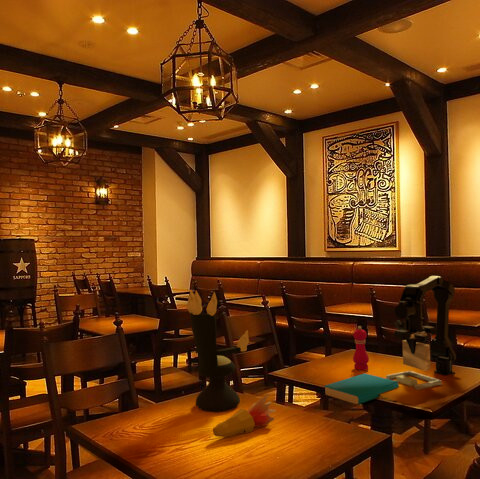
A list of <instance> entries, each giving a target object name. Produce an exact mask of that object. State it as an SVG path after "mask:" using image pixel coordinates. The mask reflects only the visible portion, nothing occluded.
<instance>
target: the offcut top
mask: <svg viewBox="0 0 480 479" xmlns="http://www.w3.org/2000/svg"><path fill="white" fill-rule="evenodd" d="M395 380H396V381H398V383H399V382H401V383H400V384H402V383H404V384H403V385H405V384H407V385H406V386H408V385H410V386H413V385H417V384H418V379H416V378H414V377H411V376H404V375H400V376H396V378H395ZM410 386H409V387H410Z"/></svg>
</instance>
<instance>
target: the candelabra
mask: <svg viewBox="0 0 480 479" xmlns="http://www.w3.org/2000/svg"><path fill="white" fill-rule="evenodd" d="M217 306H218V299H217V296H216V292H215V291H213V294H212V296H211V298H210V301H209V302H208V304H207V306H206V313H202V311H203V306H202V298H201V296H200V294H199V293H198V291H197V290H195V293H194V292H193V291H192V289H190V290H189V297H188V300H187V305H186V309H187V310H188V312H189V322H190V326H191V331H192V335H193V339H194V344H195V353H196V354H197V360H198V367H197V370H198V373H199V375H201V376H202V377H205V378H209V380H208V384H206V386H205V387H204V388H203V390H201V391H200V392H199V393H198V395H197V397H196V399H195V406H197V408H198V409H199V410H201V411H206V412H211V413H218V412H225V411H226V412H227V411H229V410H233V409H234V408H235V409H236V408H237V407H238V405H239V404H240V402H241V399H240V396H239V394H238V393H237V392H236V391H235V389H233V388H232V387H231V386H230V385H228V383H227V382H226V377H229V376H230V375H232V374H233V373H234V372H235V369H236V365H235V363H234V362H233V361H232V360H231V359H230V358H228V357H226V356H228V355H234V354H239V353H240V352H246V351H247V350H248V348H247V347H248V344H249V343H250V338H249V330H248V329H247V330H246V331H245V332H244V333H243V334H242V335H241V336H240V338H239V339H238V342H237V344H236V346H232V347H227V348H222V349H217V318H216V316H215V314H216V313H217Z"/></svg>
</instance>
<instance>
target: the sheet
mask: <svg viewBox="0 0 480 479" xmlns="http://www.w3.org/2000/svg"><path fill="white" fill-rule="evenodd" d="M401 342H402V343H401V344H402V364H403V365H406V366H408V367H411V368H415V369H419V370H421V371H424V372H427V371H429V370H430V371H431V369H432V368H431V344H429V343H425V344H424V343H419V342H417V341H416V348H415V353H414V354H412V353H411V350H410V348H409V345H408V343H407V341H406V340H405V339H402V341H401Z"/></svg>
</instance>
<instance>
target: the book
mask: <svg viewBox="0 0 480 479" xmlns="http://www.w3.org/2000/svg"><path fill="white" fill-rule="evenodd" d="M399 387H400V384H399V382H398V381H395V380H394V379H386V377H382V376H378V375H373V374H369V373H365V372H364V373H362V374H359V375H358V374H357V375H355V376H352V377H348V378H345V379H343V380H339V381H335V382H331V383H329V384H326V385H324V388H325V391H324V392H325V395H326V396H329V397H331V398H332V397H333V398H335V399H339V400H342V401H344V402H348V403H350V404H355V405H360V404H361V405H362V404H363V403H366V402H369V401H373V400H375V399H377V397H378V398H380V396H381V397H382V395H381V394H383V393H386V392H388V391H392V390H395V389H397V388H399Z"/></svg>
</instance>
